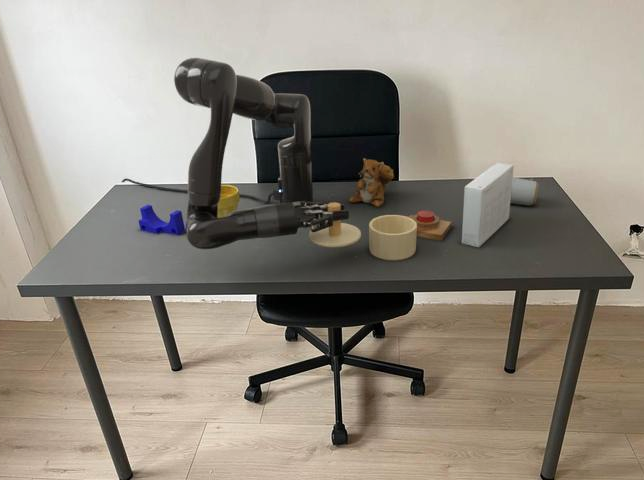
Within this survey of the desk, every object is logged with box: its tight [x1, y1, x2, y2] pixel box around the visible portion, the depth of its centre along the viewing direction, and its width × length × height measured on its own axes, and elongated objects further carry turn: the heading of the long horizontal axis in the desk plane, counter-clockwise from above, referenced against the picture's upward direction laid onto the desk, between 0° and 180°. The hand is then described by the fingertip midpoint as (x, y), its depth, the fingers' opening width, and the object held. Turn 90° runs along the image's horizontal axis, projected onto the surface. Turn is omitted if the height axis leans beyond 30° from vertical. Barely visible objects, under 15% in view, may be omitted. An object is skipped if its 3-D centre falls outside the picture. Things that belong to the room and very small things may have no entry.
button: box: [417, 210, 435, 223], centre depth 147 cm, size 4×4×2 cm
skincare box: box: [461, 162, 515, 248], centre depth 143 cm, size 21×5×16 cm, turn 145°
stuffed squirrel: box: [348, 157, 395, 208], centre depth 165 cm, size 10×14×13 cm
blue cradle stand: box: [138, 204, 186, 236], centre depth 151 cm, size 12×4×6 cm, turn 65°
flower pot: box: [218, 184, 240, 218], centre depth 153 cm, size 10×10×10 cm
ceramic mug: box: [510, 176, 540, 206], centre depth 162 cm, size 11×8×8 cm
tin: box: [368, 214, 418, 261], centre depth 138 cm, size 12×12×7 cm
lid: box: [308, 202, 362, 248], centre depth 131 cm, size 13×13×9 cm
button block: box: [408, 213, 452, 242], centre depth 148 cm, size 12×9×4 cm
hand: (345, 211), depth 130 cm, fingers closed on lid, 3 cm apart
